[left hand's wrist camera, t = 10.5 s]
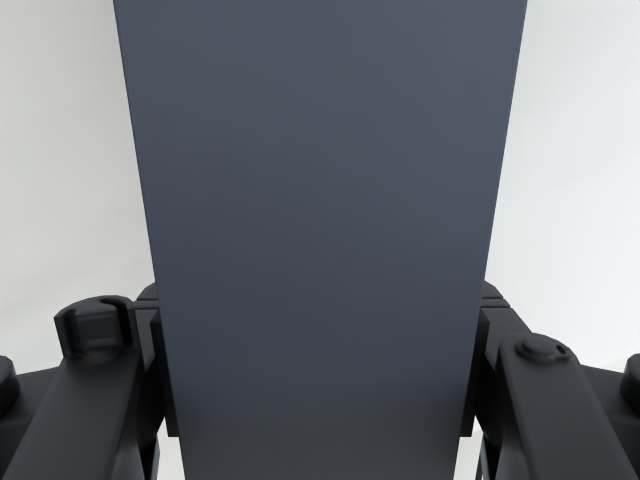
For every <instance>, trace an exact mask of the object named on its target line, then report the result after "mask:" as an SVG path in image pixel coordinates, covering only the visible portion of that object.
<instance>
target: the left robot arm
mask: <svg viewBox="0 0 640 480" xmlns="http://www.w3.org/2000/svg"><path fill="white" fill-rule="evenodd" d="M54 322H55V325H56V329H57V333H58V337H59V341H60V345H61V349H62V353H63V359H62V361H61V363H60V365H59V367H55V368H51V369H46V370H40V371H35V372H30V373H25V374H20V375H16V372H15V368H14V365H13V362H12V361H11V360H10V359H9V358H7V357H6V356H0V480H157V473H158V465H159V457H160V450H159V443H158V438H157V432H158V430H159V428H160V425H161V423H162V421H163V419H164V417H165V421H166V427H167V433H168V437H179V435H178V429H177V422H176V415H175V409H174V402H173V395H172V389H171V382H170V375H169V369H168V362H167V355H166V349H165V342H164V336H163V329H162V322H161V316H160V309H159V302H158V296H157V289H156V282H154V283H153V284H151V285H149V286H148V287H146V288H145V289H144V290H143V291H142V293H141V294H140V295H139V296H138V298H137V301H134V302H133V301H131V300H130V299H129V298H127V297H122V296H118V295H105V296H98V297H92V298H87V299H84V300H81V301H78V302H76V303H73V304H71V305H69V306H67V307H66V308H64V309H62V310H61V311H60V312H59V313H58V314H57V315H56V316H55V317H54ZM475 415H476V418H477V420H478V422H479V424H480V426H481V429H482V431H483V438H482V443H481V449H480V455H479V460H478V466H477V472H476V478H475V480H481V479H482V474H483V480H640V353H639V354H634V355H633V356H631V357H630V358H629V359H628V360H627V363H626V367H625V370H624V373H620V372H615V371H610V370H604V369H599V368H594V367H589V366H585V365H581V364H580V363H579V361H578V359H577V357H576V355H575V354H574V353H573V352H572V351H571V349H570V348H568V347H567V346H565V345H564V344H562V343H561V342H559V341H558V340H555V339H553V338H550V337H548V336H545V335H542V334H537V333H532V332H531V331H530V329H529V328H528V327H527V326H526V324H525V323H524V322H523V321H522V319H521V318H520V317H519V316H518V315H517V313H516V312H515V311H514V310H513V308H510V305H509V304H508V302H507V301H506V300H505V299H503V296H502V295H501V294H500V292H499V291H498V290H497V289H496V288H495V286H493V285H491V284H490V283H488V282H486V281H485V280H484V284H483V291H482V297H481V304H480V310H479V317H478V323H477V329H476V336H475V342H474V349H473V355H472V362H471V368H470V375H469V381H468V388H467V394H466V400H465V407H464V413H463V420H462V426H461V433H460V437H471V436H472V430H473V424H474V418H475Z"/></svg>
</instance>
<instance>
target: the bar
mask: <svg viewBox="0 0 640 480" xmlns="http://www.w3.org/2000/svg"><path fill="white" fill-rule="evenodd" d="M113 4H114V10H115V17H116V24H117V30H118V37H119V43H120V50H121V57H122V63H123V70H124V77H125V83H126V90H127V97H128V103H129V110H130V116H131V123H132V130H133V136H134V143H135V150H136V156H137V163H138V170H139V176H140V183H141V190H142V196H143V203H144V209H145V216H146V223H147V229H148V236H149V243H150V249H151V256H152V263H153V269H154V276H155V282H156V289H157V296H158V302H159V309H160V316H161V322H162V329H163V336H164V342H165V349H166V355H167V362H168V369H169V375H170V382H171V389H172V395H173V402H174V409H175V415H176V422H177V429H178V435H179V442H180V448H181V455H182V462H183V468H184V475H185V480H453V478H454V471H455V465H456V458H457V452H458V446H459V439H460V433H461V426H462V420H463V413H464V407H465V400H466V394H467V388H468V381H469V375H470V368H471V362H472V355H473V349H474V342H475V336H476V329H477V323H478V317H479V310H480V304H481V297H482V291H483V284H484V278H485V271H486V265H487V258H488V252H489V246H490V239H491V233H492V226H493V220H494V213H495V207H496V200H497V194H498V187H499V181H500V175H501V168H502V162H503V155H504V149H505V142H506V136H507V129H508V123H509V116H510V110H511V103H512V97H513V91H514V84H515V78H516V71H517V65H518V58H519V52H520V45H521V39H522V32H523V26H524V20H525V13H526V7H527V0H113Z"/></svg>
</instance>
